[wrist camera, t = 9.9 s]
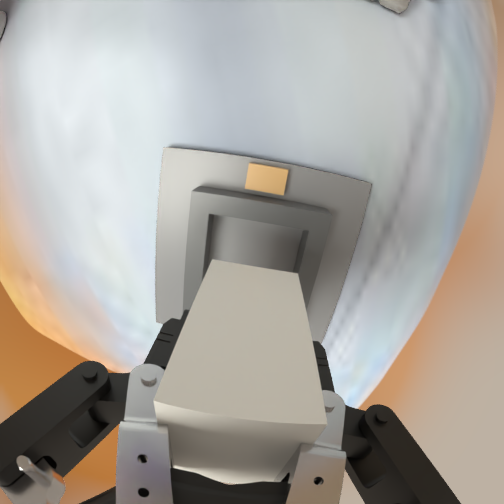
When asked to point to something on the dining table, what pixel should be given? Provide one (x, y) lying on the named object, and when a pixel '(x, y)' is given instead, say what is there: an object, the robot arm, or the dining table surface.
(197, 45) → the dining table surface
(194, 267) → the socket plate
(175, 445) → the plug
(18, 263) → the dining table surface
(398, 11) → the bunny figurine
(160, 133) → the dining table surface
